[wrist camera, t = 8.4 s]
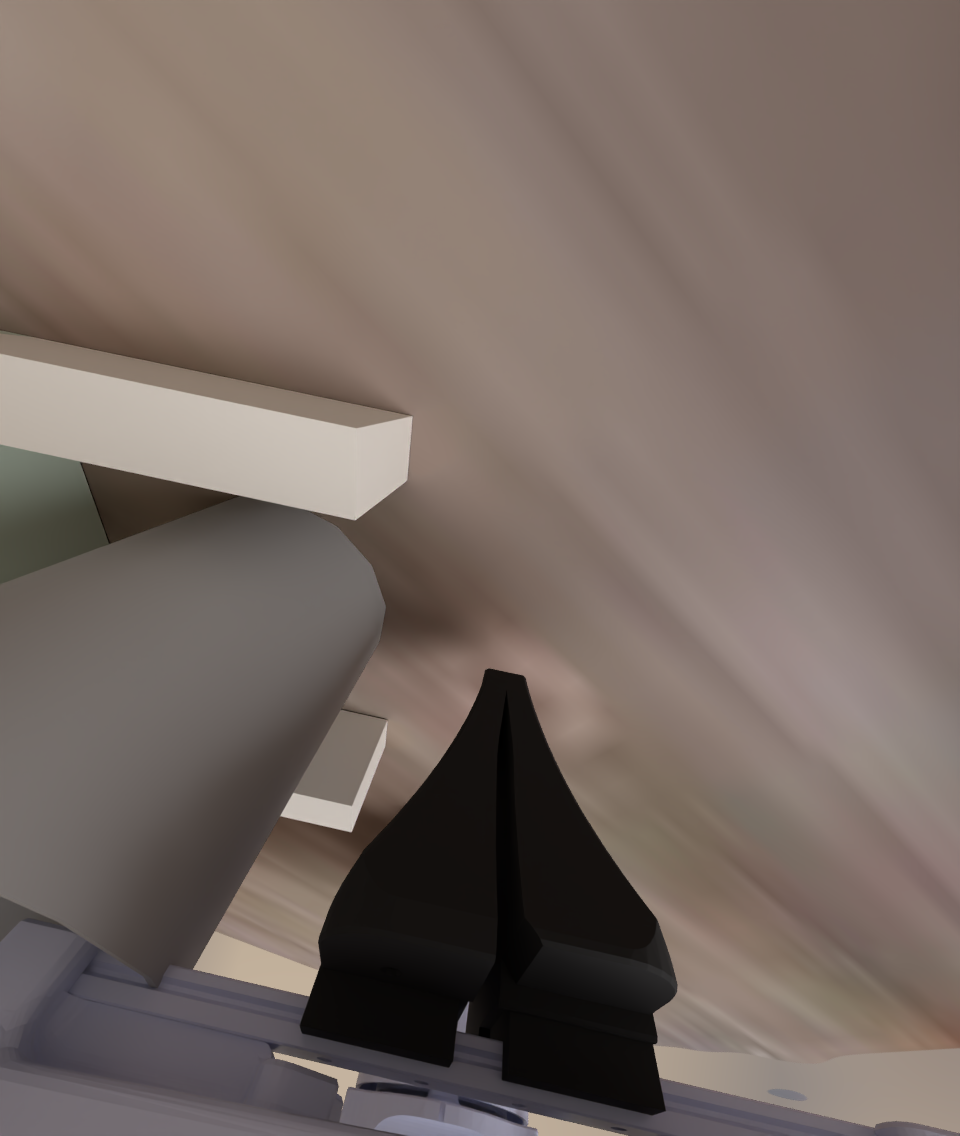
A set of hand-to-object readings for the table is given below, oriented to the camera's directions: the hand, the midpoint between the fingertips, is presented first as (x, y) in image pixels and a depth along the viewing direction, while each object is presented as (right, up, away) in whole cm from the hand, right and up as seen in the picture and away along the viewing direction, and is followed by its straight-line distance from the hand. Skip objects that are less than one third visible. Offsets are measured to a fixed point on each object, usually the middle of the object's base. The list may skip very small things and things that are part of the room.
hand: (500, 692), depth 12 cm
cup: (-9, +3, +2) cm, 10 cm away
